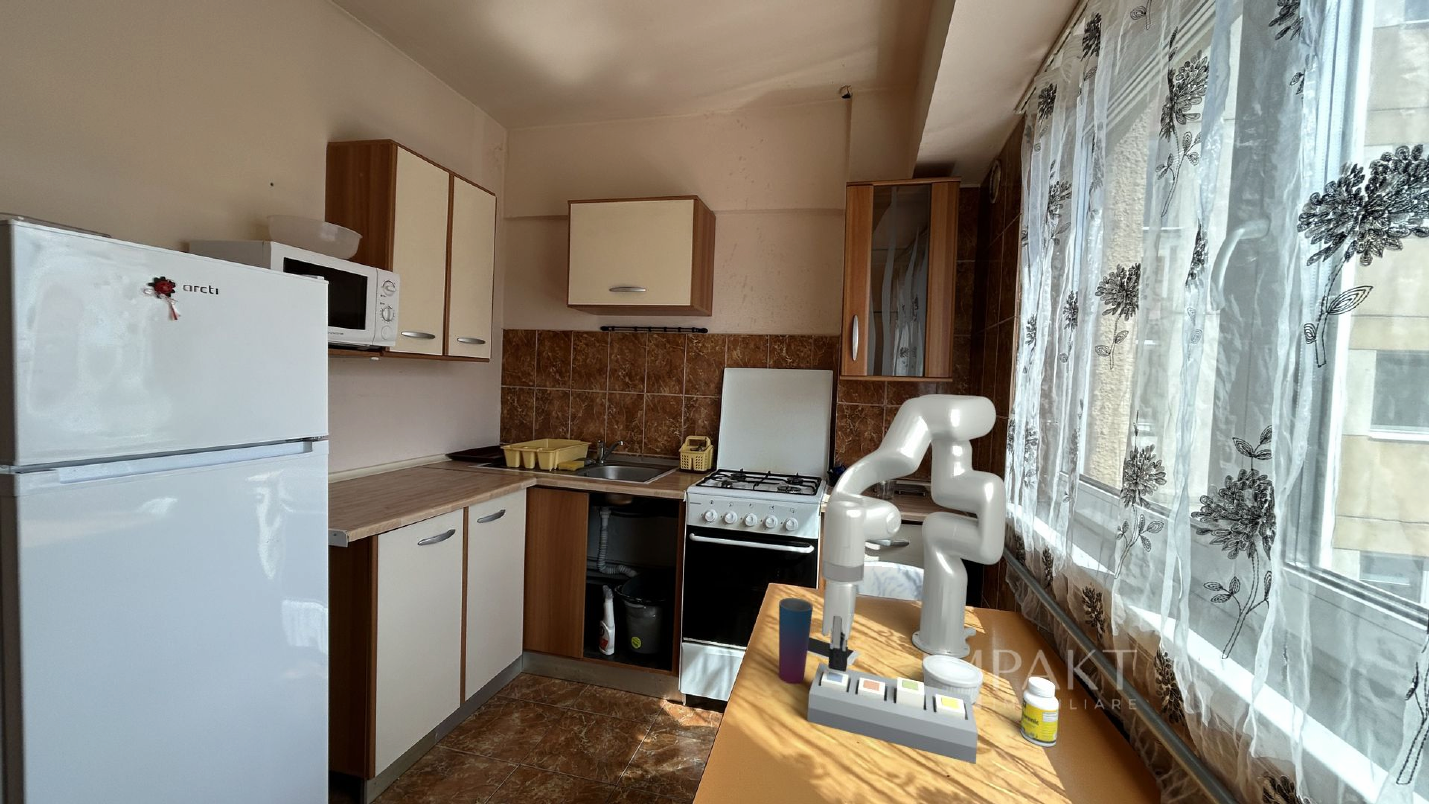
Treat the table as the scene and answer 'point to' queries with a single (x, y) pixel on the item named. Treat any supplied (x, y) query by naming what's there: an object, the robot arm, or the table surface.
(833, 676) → the key slate
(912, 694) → the key olive
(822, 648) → the smartphone
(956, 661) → the ramekin
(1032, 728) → the supplement bottle
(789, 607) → the cup
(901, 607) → the table surface
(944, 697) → the key mustard
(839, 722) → the keypad
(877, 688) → the key terracotta
